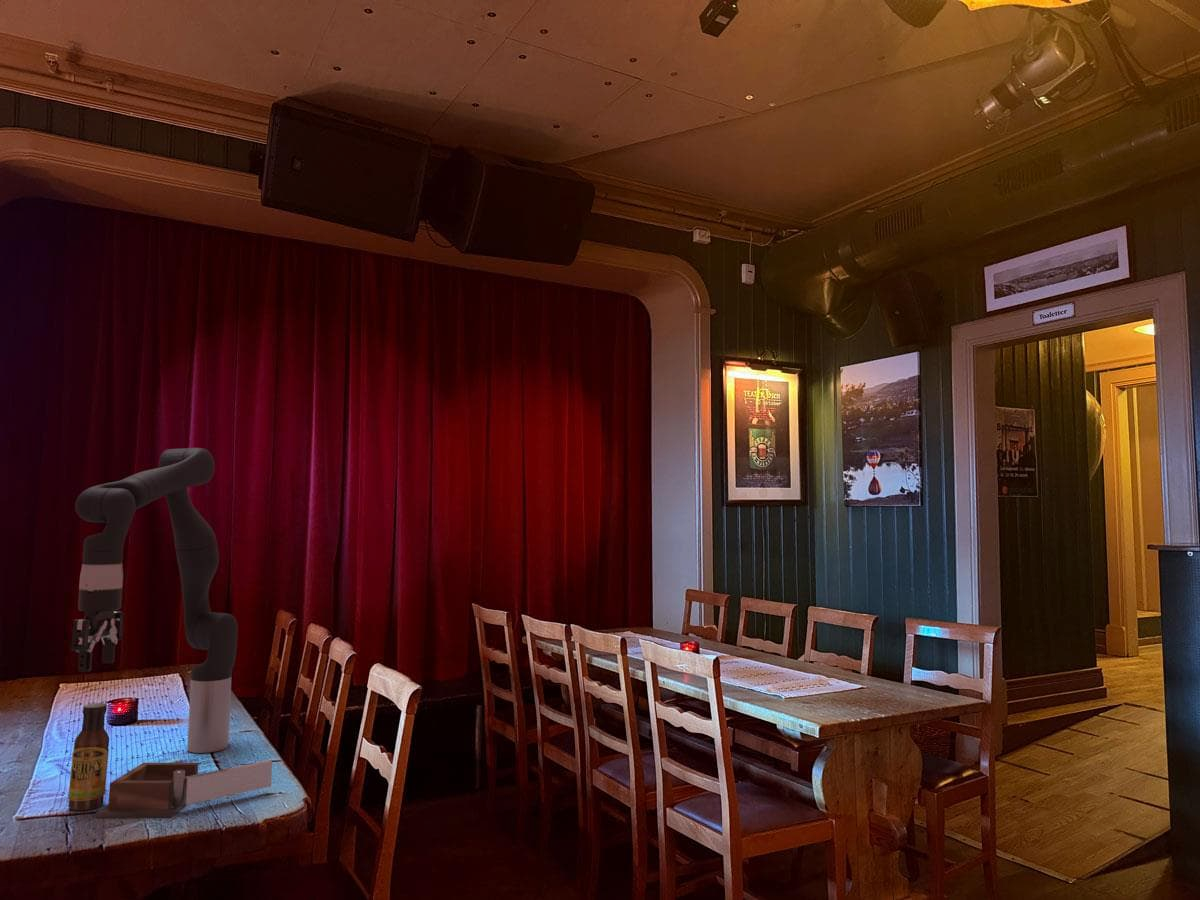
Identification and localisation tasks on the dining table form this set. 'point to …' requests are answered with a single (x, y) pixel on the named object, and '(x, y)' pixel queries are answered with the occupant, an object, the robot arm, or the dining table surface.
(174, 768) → the cradle
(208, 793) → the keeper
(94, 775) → the sauce bottle
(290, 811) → the dining table surface
